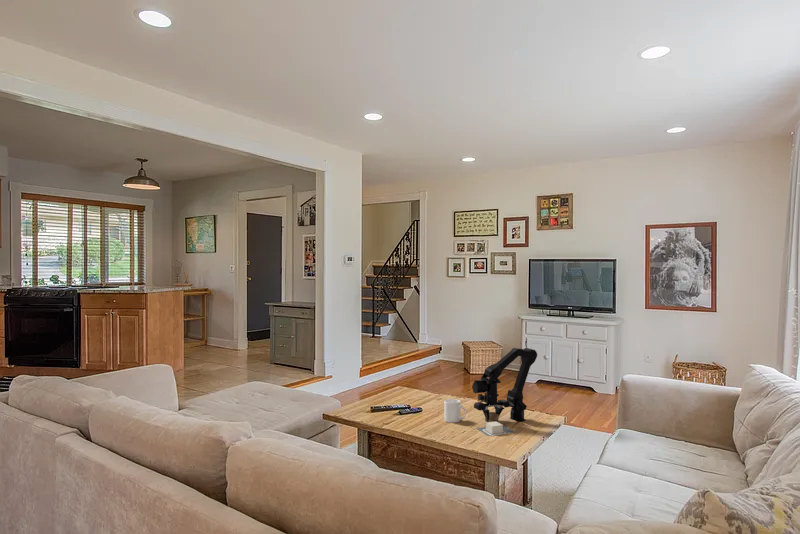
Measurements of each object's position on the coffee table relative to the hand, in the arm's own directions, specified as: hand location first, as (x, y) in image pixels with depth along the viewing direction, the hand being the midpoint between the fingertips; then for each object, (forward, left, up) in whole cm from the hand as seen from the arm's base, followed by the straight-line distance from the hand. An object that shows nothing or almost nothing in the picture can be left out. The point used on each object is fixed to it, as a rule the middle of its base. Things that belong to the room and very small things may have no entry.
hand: (491, 421), depth 251 cm
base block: (+7, +14, 0) cm, 16 cm away
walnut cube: (0, 0, -1) cm, 1 cm away
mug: (+17, -9, -1) cm, 19 cm away
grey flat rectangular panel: (+5, +12, -1) cm, 13 cm away
